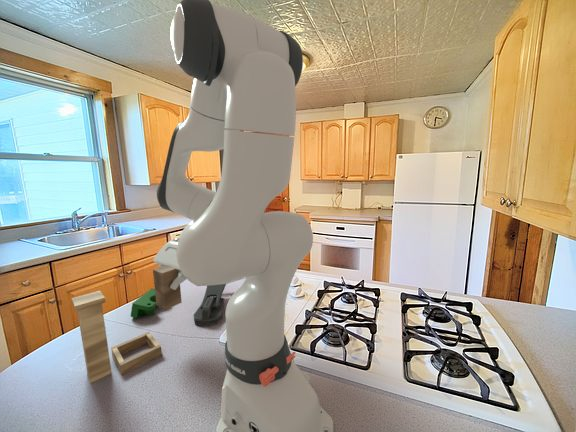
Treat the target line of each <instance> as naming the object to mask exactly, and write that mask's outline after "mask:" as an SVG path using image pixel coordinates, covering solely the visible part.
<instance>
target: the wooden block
mask: <svg viewBox="0 0 576 432" xmlns="http://www.w3.org/2000/svg"><path fill="white" fill-rule="evenodd" d="M152 273H153V285H154V289H155V295H156V305H157V306H159V307H158V308H161V309H164V310H170V308H173V307H175V306H177V305H179V304H182V293H181V284H179V286H178V287H177V289H176V290H173V289H171V288H169V287H168V285H169V284H170V282H171V280H172V281H174V280H175V279H176V278H177V277H178V273H179V270H176V268H173V267H170V266H167V265H166V266H163V267H161V266H159V267H158V268H154V269H152Z"/></svg>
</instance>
